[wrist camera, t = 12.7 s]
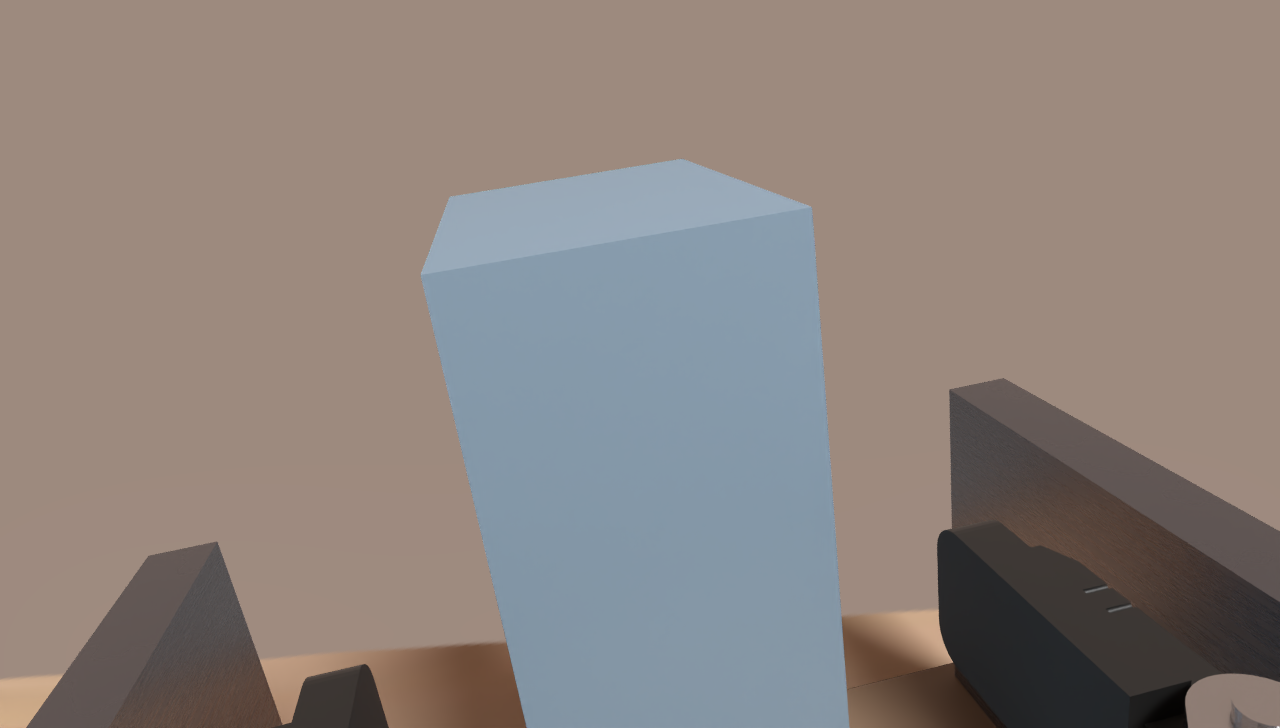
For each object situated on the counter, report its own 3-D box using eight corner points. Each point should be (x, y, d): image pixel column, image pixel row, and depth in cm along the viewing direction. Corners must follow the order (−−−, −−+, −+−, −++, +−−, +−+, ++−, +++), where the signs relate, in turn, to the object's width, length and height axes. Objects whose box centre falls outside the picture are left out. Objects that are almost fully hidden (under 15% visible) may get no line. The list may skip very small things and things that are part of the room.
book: (630, 1170, 15) (420, 275, 9) (587, 833, 21) (449, 196, 16) (875, 1096, 15) (812, 207, 10) (759, 789, 22) (682, 158, 16)
